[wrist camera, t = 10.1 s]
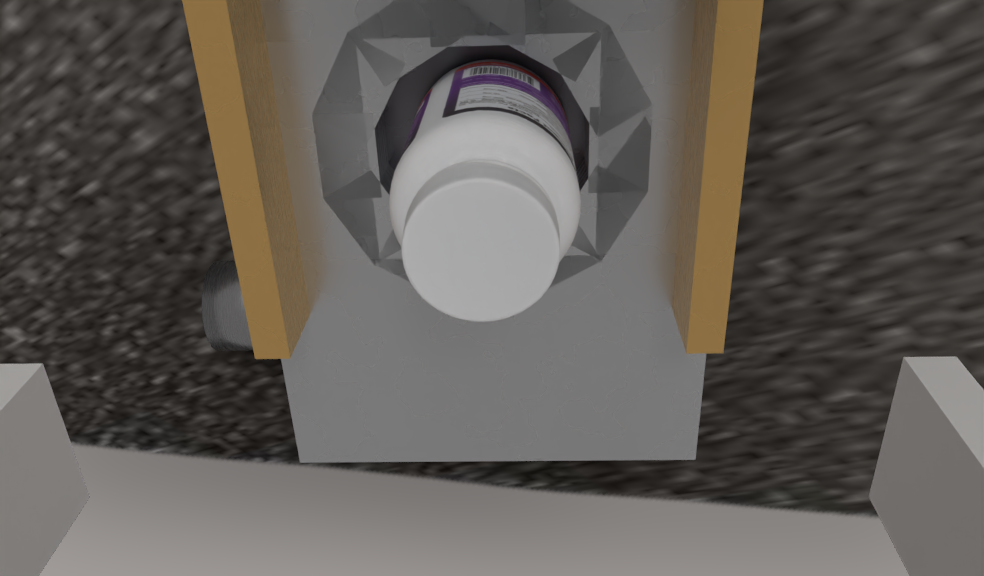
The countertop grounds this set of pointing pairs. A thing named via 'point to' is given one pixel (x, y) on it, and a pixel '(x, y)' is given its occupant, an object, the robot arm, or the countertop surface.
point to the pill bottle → (485, 192)
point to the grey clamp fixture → (377, 253)
